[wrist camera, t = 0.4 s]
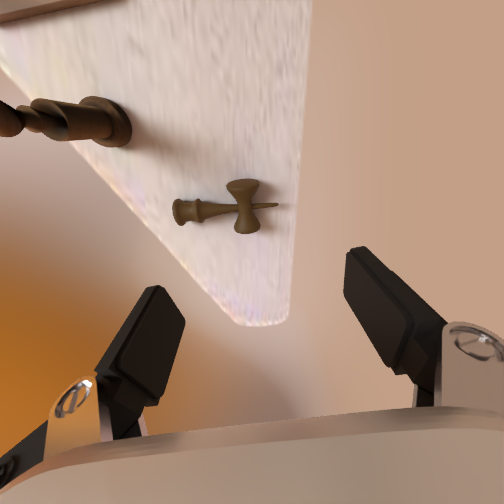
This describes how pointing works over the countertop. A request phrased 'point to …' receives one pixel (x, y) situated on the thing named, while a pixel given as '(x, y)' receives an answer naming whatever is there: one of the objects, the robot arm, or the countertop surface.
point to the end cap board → (34, 7)
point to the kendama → (225, 207)
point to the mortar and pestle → (69, 120)
